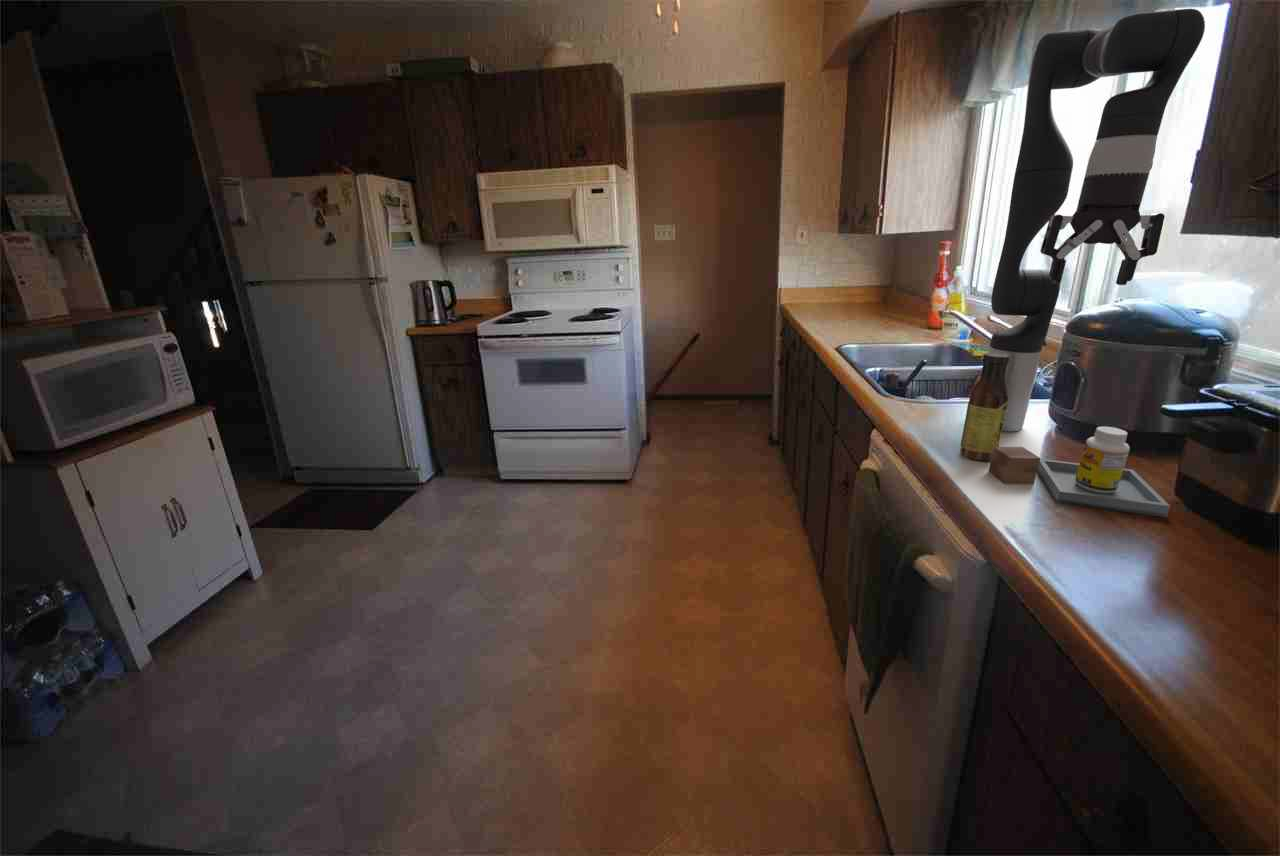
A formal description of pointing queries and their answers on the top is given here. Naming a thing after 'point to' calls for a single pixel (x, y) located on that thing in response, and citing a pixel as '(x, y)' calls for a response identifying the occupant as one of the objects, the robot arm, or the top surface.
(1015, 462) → the walnut block
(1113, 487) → the supplement bottle
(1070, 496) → the tray
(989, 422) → the sauce bottle
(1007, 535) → the top surface
